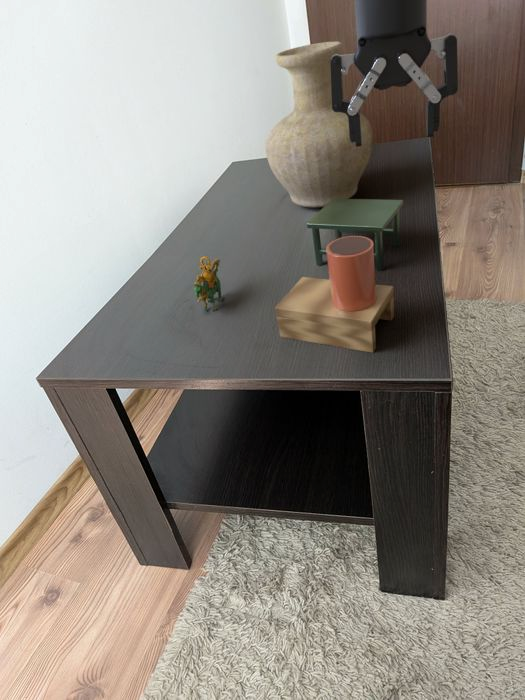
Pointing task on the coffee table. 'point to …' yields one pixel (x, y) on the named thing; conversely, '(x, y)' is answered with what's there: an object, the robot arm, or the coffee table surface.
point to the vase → (316, 133)
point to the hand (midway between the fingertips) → (393, 140)
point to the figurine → (208, 283)
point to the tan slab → (331, 316)
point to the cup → (352, 273)
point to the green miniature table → (358, 222)
